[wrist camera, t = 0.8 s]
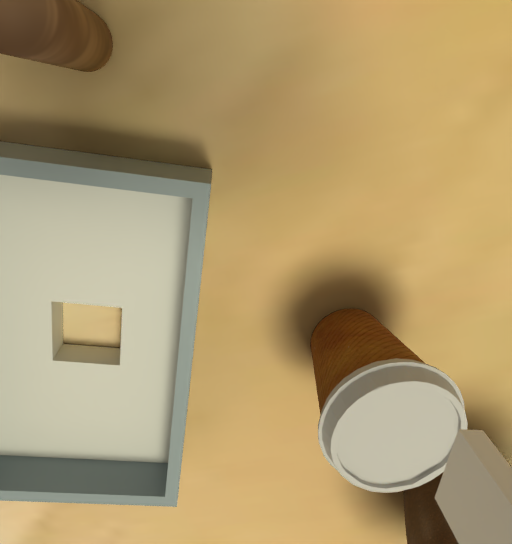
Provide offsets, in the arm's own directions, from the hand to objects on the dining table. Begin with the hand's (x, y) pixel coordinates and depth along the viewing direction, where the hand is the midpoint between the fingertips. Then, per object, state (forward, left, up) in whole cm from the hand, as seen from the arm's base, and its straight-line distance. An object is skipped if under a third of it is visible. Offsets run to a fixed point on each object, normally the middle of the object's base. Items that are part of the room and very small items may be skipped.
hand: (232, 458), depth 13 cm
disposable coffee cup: (+8, +12, -23) cm, 27 cm away
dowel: (-12, -10, -23) cm, 28 cm away
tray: (+8, -9, -23) cm, 26 cm away
